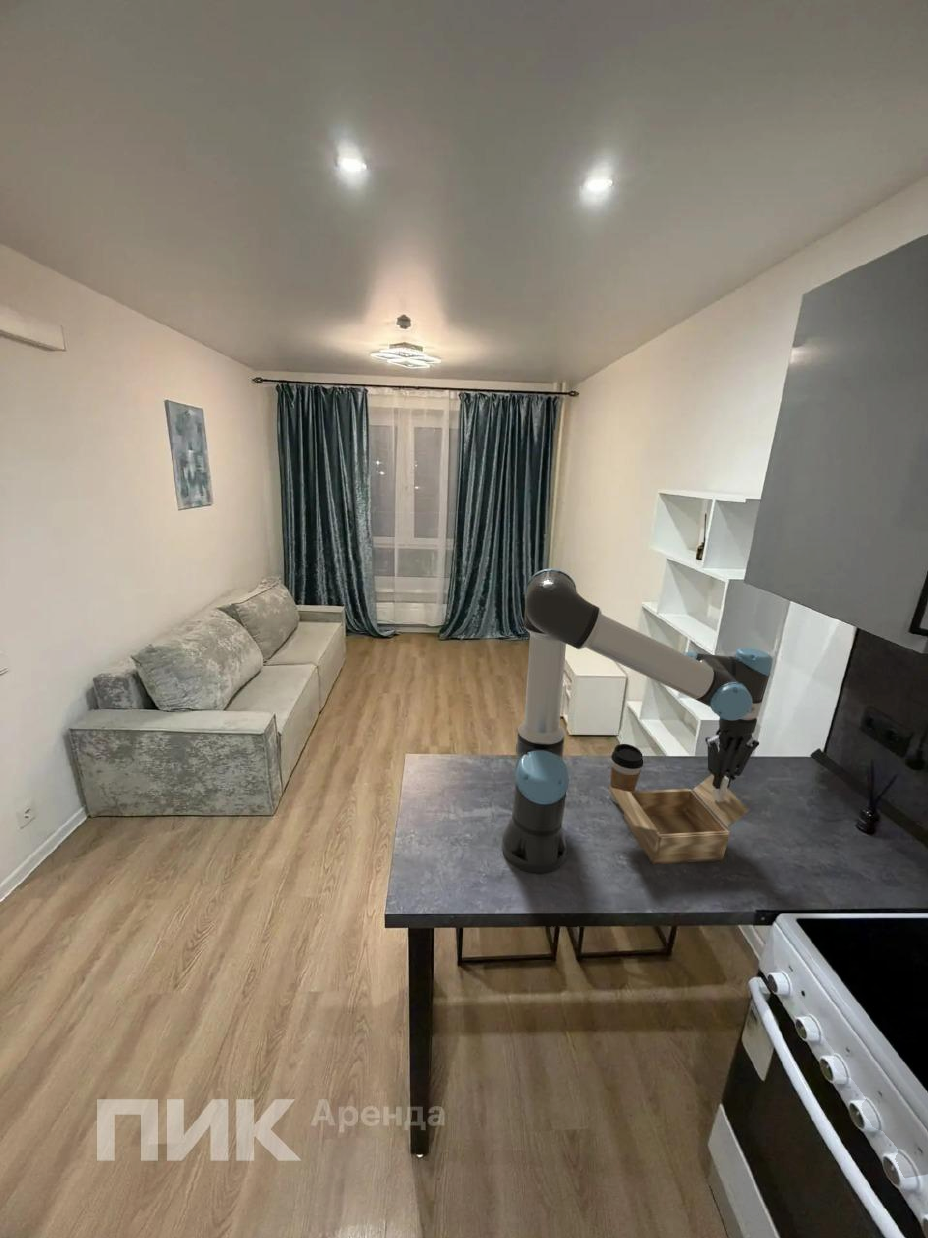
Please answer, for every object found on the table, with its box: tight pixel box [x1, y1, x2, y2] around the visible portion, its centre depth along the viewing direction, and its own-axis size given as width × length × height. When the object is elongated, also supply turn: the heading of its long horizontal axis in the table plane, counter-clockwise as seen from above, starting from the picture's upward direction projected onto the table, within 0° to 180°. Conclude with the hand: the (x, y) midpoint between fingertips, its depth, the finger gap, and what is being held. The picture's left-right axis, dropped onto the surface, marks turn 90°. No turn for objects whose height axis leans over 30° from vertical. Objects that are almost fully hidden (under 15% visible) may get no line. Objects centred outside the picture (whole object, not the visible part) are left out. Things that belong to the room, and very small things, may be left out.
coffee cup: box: [609, 743, 644, 805], centre depth 138 cm, size 8×8×15 cm
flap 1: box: [607, 786, 658, 832], centre depth 121 cm, size 1×14×6 cm
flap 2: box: [692, 773, 750, 828], centre depth 124 cm, size 1×14×6 cm
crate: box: [622, 788, 731, 865], centre depth 124 cm, size 18×17×8 cm
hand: (717, 798), depth 124 cm, fingers closed
